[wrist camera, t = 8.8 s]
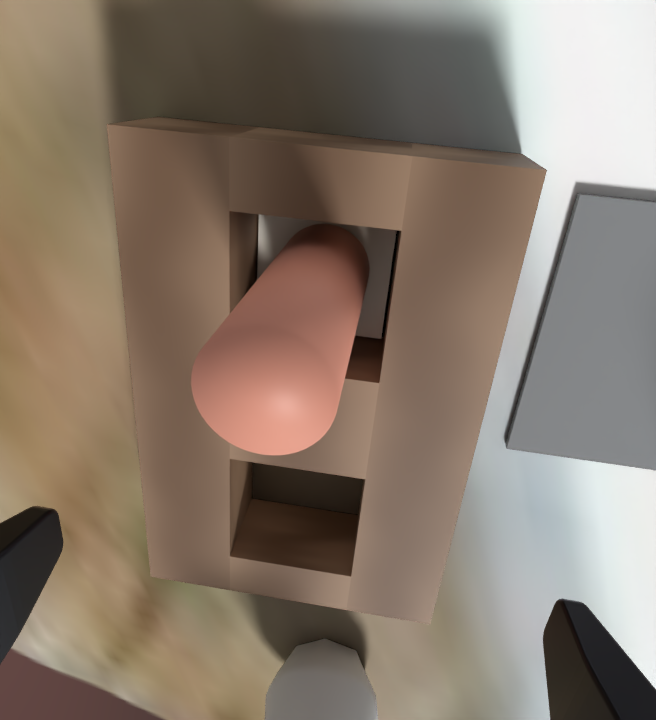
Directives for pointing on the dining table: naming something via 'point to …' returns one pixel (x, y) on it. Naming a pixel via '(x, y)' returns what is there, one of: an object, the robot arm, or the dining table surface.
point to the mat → (596, 342)
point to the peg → (285, 346)
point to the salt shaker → (321, 685)
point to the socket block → (367, 359)
